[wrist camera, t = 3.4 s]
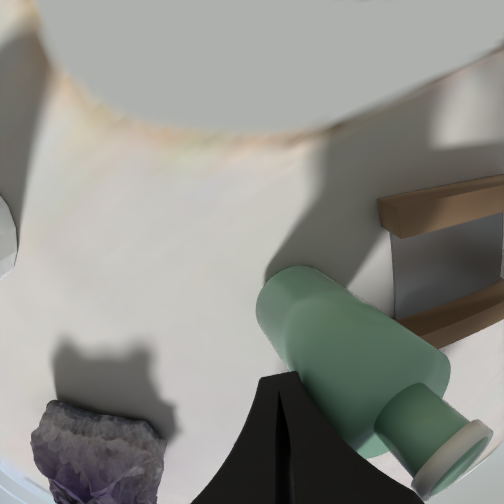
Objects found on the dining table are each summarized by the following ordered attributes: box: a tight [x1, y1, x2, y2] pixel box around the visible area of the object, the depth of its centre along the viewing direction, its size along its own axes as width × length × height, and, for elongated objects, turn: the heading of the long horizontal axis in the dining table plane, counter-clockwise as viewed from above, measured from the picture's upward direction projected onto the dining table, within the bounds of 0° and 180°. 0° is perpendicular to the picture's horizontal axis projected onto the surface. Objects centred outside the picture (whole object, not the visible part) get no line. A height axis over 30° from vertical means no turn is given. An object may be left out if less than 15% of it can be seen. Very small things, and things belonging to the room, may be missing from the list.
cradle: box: [377, 174, 504, 349], centre depth 15 cm, size 9×10×2 cm
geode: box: [30, 400, 166, 504], centre depth 18 cm, size 20×12×10 cm, turn 159°
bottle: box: [256, 265, 493, 501], centre depth 11 cm, size 4×4×12 cm
